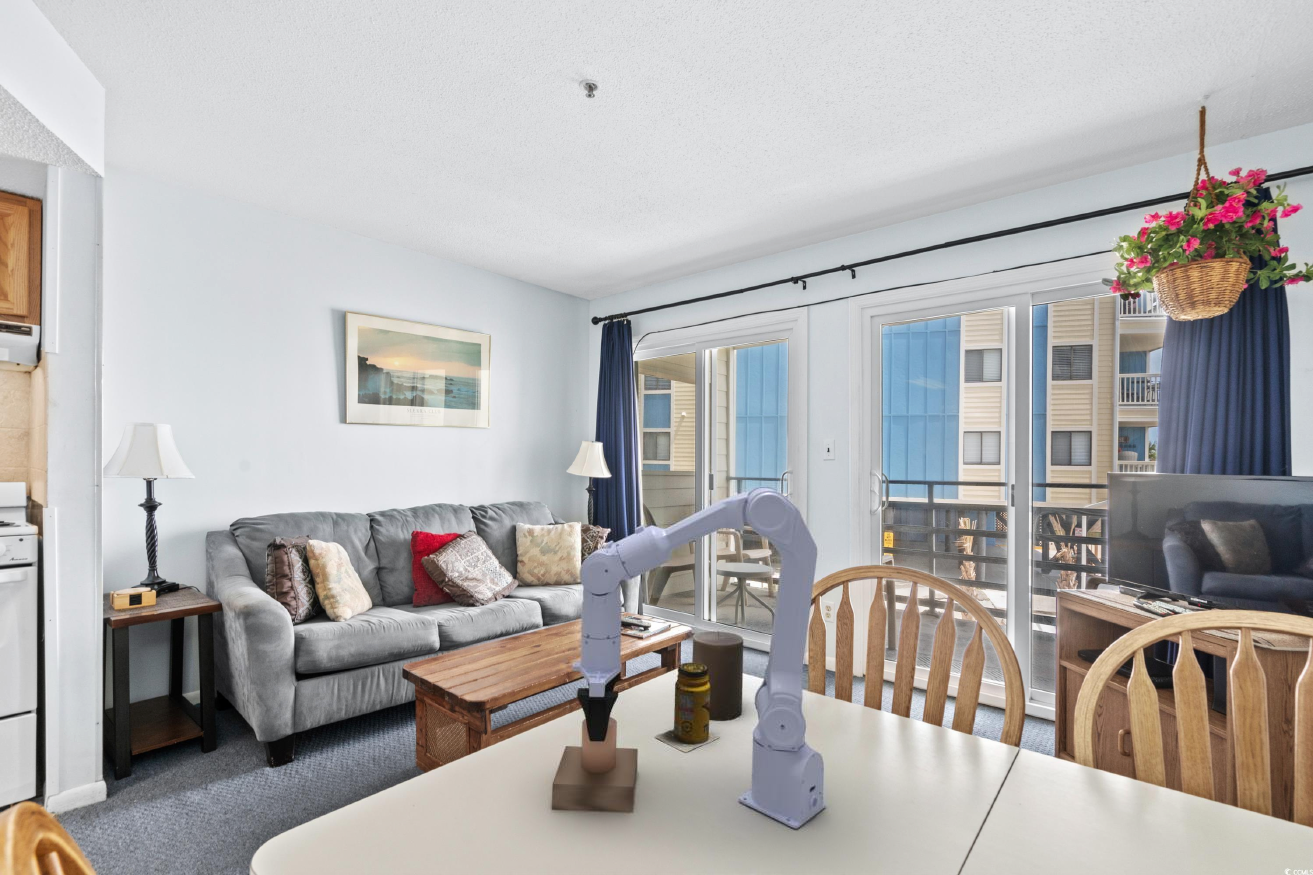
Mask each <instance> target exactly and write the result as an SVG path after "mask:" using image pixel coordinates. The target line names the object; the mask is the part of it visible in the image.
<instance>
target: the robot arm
mask: <svg viewBox="0 0 1313 875" xmlns="http://www.w3.org/2000/svg"><path fill="white" fill-rule="evenodd" d="M745 523H747V524H748V525H749V527H750V528H751V529H752V531H754V532H755V533H756V534H758V536H761V537H763V538H764V539H765V540H767V541H769V542H770V543H771V544H772V546H773V547H774V548H775V549H776V551H777V552H778V553H779V554H780V555H781V561H780V567H779V568H780V569H779V577H778V583H777V591H776V600H775V606H774V607H775V608H774V616H773V622H772V630H771V639H770V644H769V645H770V646H769V653H768V661H767V665H766V667H765V670H764V676H763V680H762V683H761V684H760V686H759V687H758V688H757V690H756V691H755V695H754V705H755V709H756V713H757V717H758V718H757V719H758V723H757V724H756V726H755V728H754V729H753V731H752V755H751V756H752V757H751V760H752V762H751V789H750V790H748V791H746V792H744V793H743V794H741V795H740V796H738V801H739V803H742V804H745V805H746V806H749V808H752V809H753V810H756V811H758V812H760V813H762V814H764V815H765V816H768V817H771V818H772V819H775V820H776V821H779V822H780V823H781V824H785V825H786V826H788V827H791V828H792V829H798V828H800V827H801V826H802V825H803V824H805V823H806V822H807V821H809V820H811V819H812V818H813V817H814V816H816V815H817V814H818V813H819V812H821V811H822V810H823V809H824V808H826V806H827V803H826V802H825V801H824V781H825V780H824V779H825V778H824V775H825V774H824V773H825V772H824V771H825V767H824V766H825V764H824V759H823V756H822V754H821V753H820V752H818V751H817V750H815V749H814V748H812V747H811V746H810V745H809V744H808V743H807V741H806V737H805V735H806V732H807V731H806V730H807V723H806V719H805V716H804V713H803V709H802V707H803V706H802V705H803V680H802V679H803V678H802V674H803V669H804V668H803V667H804V659H805V653H806V646H807V645H806V644H807V637H808V629H809V620H810V613H811V605H812V598H813V588H814V584H815V575H816V567H817V566H816V565H817V561H818V560H817V558H818V546H817V545H816V542H815V540H814V538H813V536H812V534H811V532H810V530H809V528H808V526H807V524H806V521H804V519H803V517H802V514H801V512H800V509H799V507H797V506H796V505H795V503H793V502H792V501H791V500H790V499H788V497H787V496H786V495H784V494H783V493H782V492H780V491H778V490H777V489H775V488H773V487H772V486H771V487H770V486H758V487H755V488H753V489H752V490H750V491H748V492H746V491H744V492H742V493H737V494H734V495H732V496H730V497H727V498H724V499H721V500H718V501H717V502H715V503H713V504H712V505H710V506H708V507H706V508H705V507H704V508H703V509H702V510H700V511H698V512H696V513H694V514H692V515H690V516H688V517H685V518H684V519H682V520H680V521H678V522H676V523H675V524H674V523H673V524H672V525H670V526H669V527H666V528H661V527H658V526H655V525H649V526H646V527H645V525H644V524H643V525H640V526H638V527H636V528H635V529H634V531H635V532H634V533H633V534H630V535H628V536H626V537H623V538H622V539H620V540H617V541H616V542H614V541H613V540H610V541H609V542H608V541H607V542H606V543H605V546H606V547H605V548H600V549H597V550H595V551H593V552H592V553H591V554H590V555H589V556H587V557H586V558H585V560H584V561H583V562H582V564H581V566H580V568H579V572H578V573H579V580H580V583H581V585H582V587H583V589H582V601H581V602H582V603H581V630H580V631H581V633H580V634H581V637H580V639H581V640H580V642H581V643H580V661H574V662H573V663H572V671H575V672H580V673H581V674H582V676H583V678H584V679H585V680H586V682H587V685H588V687H578V688H577V691H576V694H577V695H576V698H577V700H578V702H579V704H580V707H581V709H582V711H583V715H584V719H586V725H587V731H588V736H589V740H590V741H595V742H604V741H605V738H606V734H607V729H608V723H609V718H610V717H611V714H612V711H613V708H614V706H615V704H616V701H617V700H618V698H619V692H620V691H619V690H615V686H616V683H617V681H618V678H619V676H620V675H621V671H622V668H623V666H622V662H621V653H622V651H621V650H622V648H621V647H622V646H621V645H622V643H621V642H622V607H623V606H622V605H623V604H622V600H621V596H622V595H621V593H622V591H621V590H622V587H621V586H622V584H621V583H620V582H621V581H622V580H623V581H624V580H627V581H630V580H632V579H635V578H637V577H638V576H642V575H644V574H645V573H648V572H649V571H651V570H654V569H656V568H658V567H661V566H662V565H665V564H666V563H669V562H670V559H671V557H672V553H673V551H674V550H675V549H677V548H680V547H682V546H684V545H687V544H689V543H691V542H694V541H695V540H696V541H697V540H699V539H701V538H703V537H705V536H707V535H710V534H713V533H714V532H718V531H719V530H723V529H729V530H735V531H745Z"/></svg>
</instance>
